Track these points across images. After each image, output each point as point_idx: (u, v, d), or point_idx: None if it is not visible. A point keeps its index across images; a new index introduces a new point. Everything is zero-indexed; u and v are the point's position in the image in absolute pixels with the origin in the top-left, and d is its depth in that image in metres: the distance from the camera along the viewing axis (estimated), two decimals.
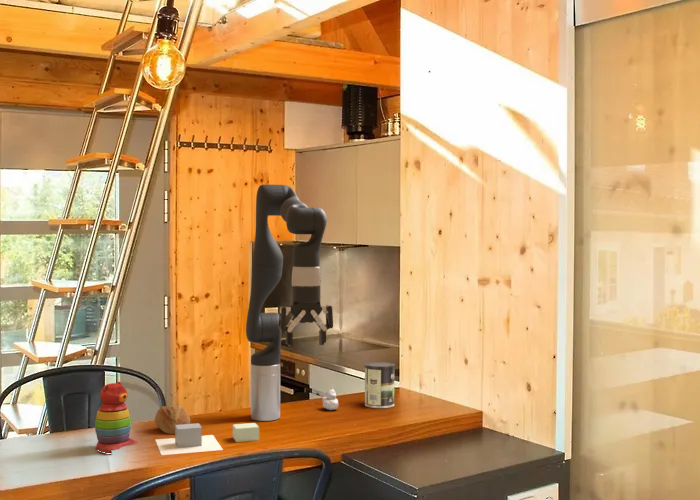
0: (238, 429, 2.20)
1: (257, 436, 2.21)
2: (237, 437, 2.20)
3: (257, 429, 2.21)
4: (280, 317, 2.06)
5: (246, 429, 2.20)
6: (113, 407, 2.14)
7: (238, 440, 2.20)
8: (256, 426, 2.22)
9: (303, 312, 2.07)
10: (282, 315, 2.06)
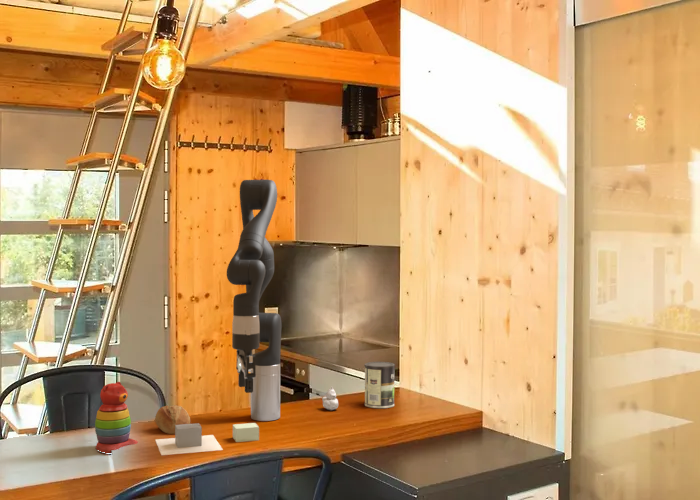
0: (238, 429, 2.20)
1: (257, 436, 2.21)
2: (237, 437, 2.20)
3: (257, 429, 2.21)
4: (252, 365, 2.16)
5: (246, 429, 2.20)
6: (113, 407, 2.14)
7: (238, 440, 2.20)
8: (256, 426, 2.22)
9: None
10: None
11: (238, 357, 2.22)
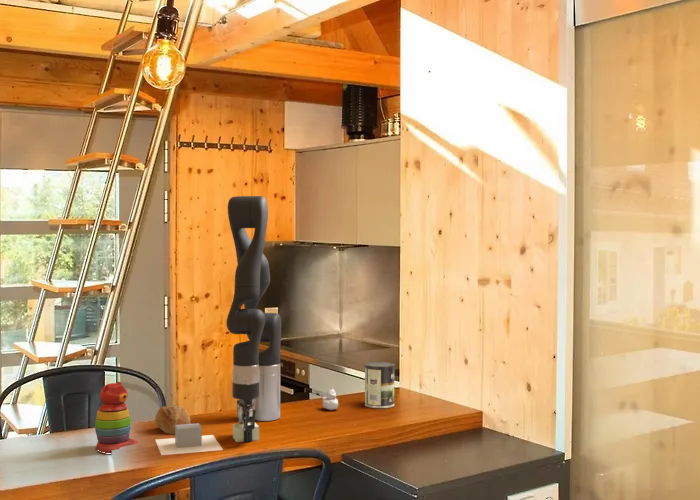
0: (238, 429, 2.20)
1: (257, 436, 2.21)
2: (237, 437, 2.20)
3: (257, 429, 2.21)
4: (251, 419, 2.17)
5: None
6: (113, 407, 2.14)
7: (238, 440, 2.20)
8: (256, 426, 2.22)
9: (253, 406, 2.22)
10: None
11: (238, 405, 2.23)
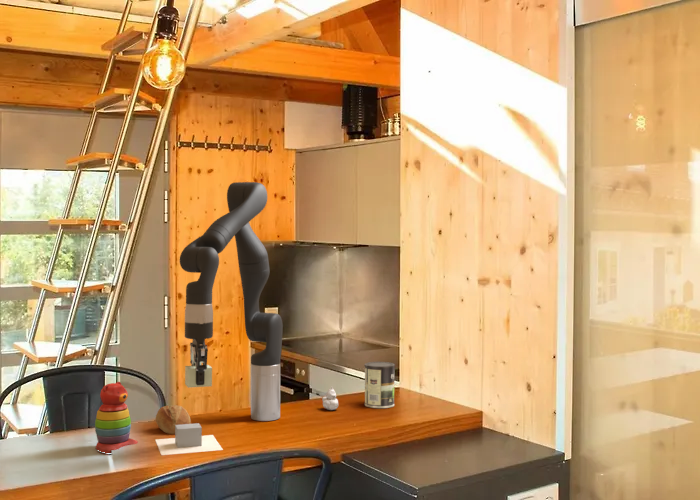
0: (190, 369, 2.13)
1: (210, 377, 2.15)
2: (189, 377, 2.13)
3: (210, 370, 2.15)
4: (203, 359, 2.11)
5: None
6: (113, 407, 2.14)
7: (190, 380, 2.13)
8: (209, 367, 2.16)
9: (206, 347, 2.16)
10: None
11: (191, 346, 2.16)
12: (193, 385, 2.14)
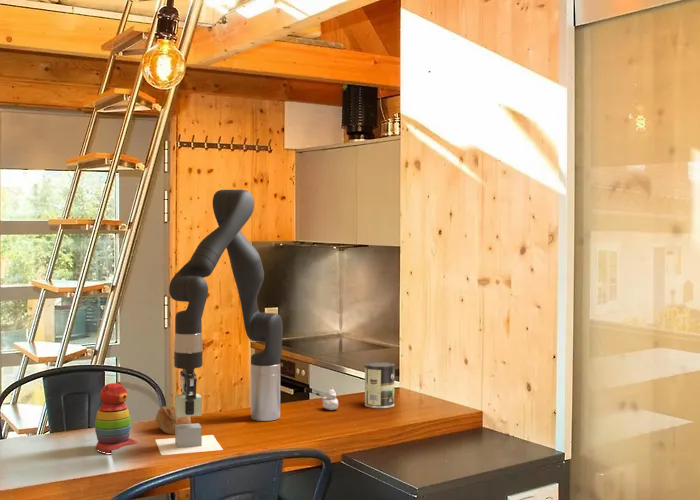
0: (179, 399, 2.13)
1: (199, 406, 2.15)
2: (178, 407, 2.13)
3: (199, 399, 2.15)
4: (192, 389, 2.10)
5: None
6: (113, 407, 2.14)
7: (179, 410, 2.13)
8: (199, 396, 2.16)
9: None
10: None
11: (180, 375, 2.16)
12: (182, 415, 2.13)
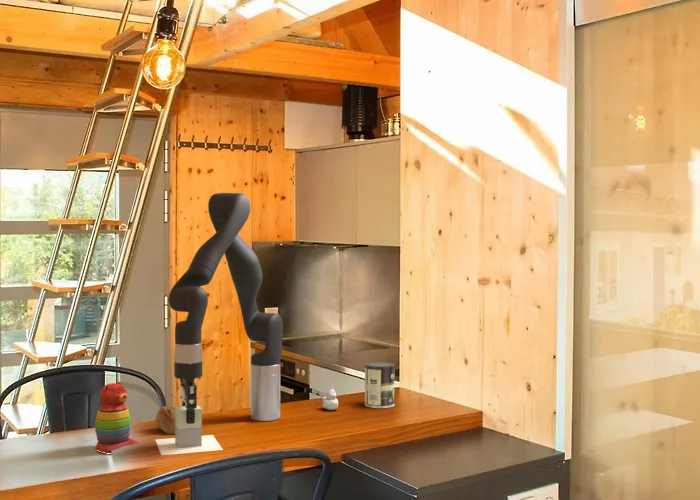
0: (180, 411, 2.13)
1: (200, 418, 2.15)
2: (178, 419, 2.13)
3: (200, 411, 2.15)
4: (193, 396, 2.10)
5: None
6: (113, 407, 2.14)
7: (180, 422, 2.13)
8: (199, 408, 2.16)
9: (196, 386, 2.16)
10: None
11: (180, 386, 2.16)
12: (183, 427, 2.14)
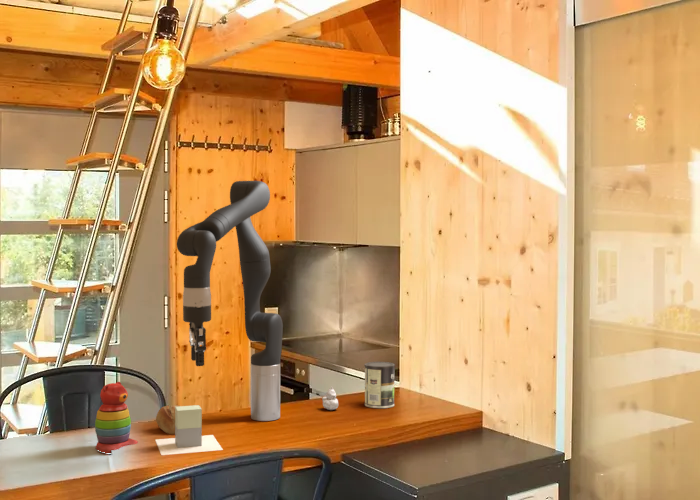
0: (180, 411, 2.13)
1: (200, 418, 2.15)
2: (178, 419, 2.13)
3: (200, 411, 2.15)
4: (202, 338, 2.11)
5: (188, 411, 2.14)
6: (113, 407, 2.14)
7: (180, 422, 2.13)
8: (199, 408, 2.16)
9: None
10: None
11: (189, 330, 2.17)
12: (183, 427, 2.14)
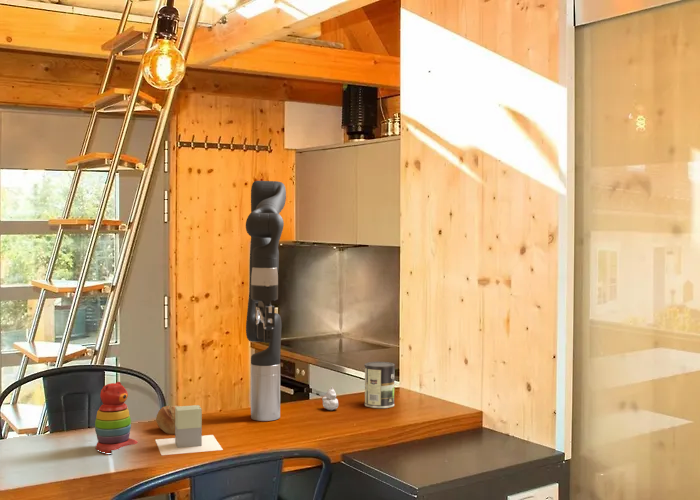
0: (180, 411, 2.13)
1: (200, 418, 2.15)
2: (178, 419, 2.13)
3: (200, 411, 2.15)
4: (271, 316, 2.20)
5: (188, 411, 2.14)
6: (113, 407, 2.14)
7: (180, 422, 2.13)
8: (199, 408, 2.16)
9: None
10: None
11: (257, 308, 2.27)
12: (183, 427, 2.14)
